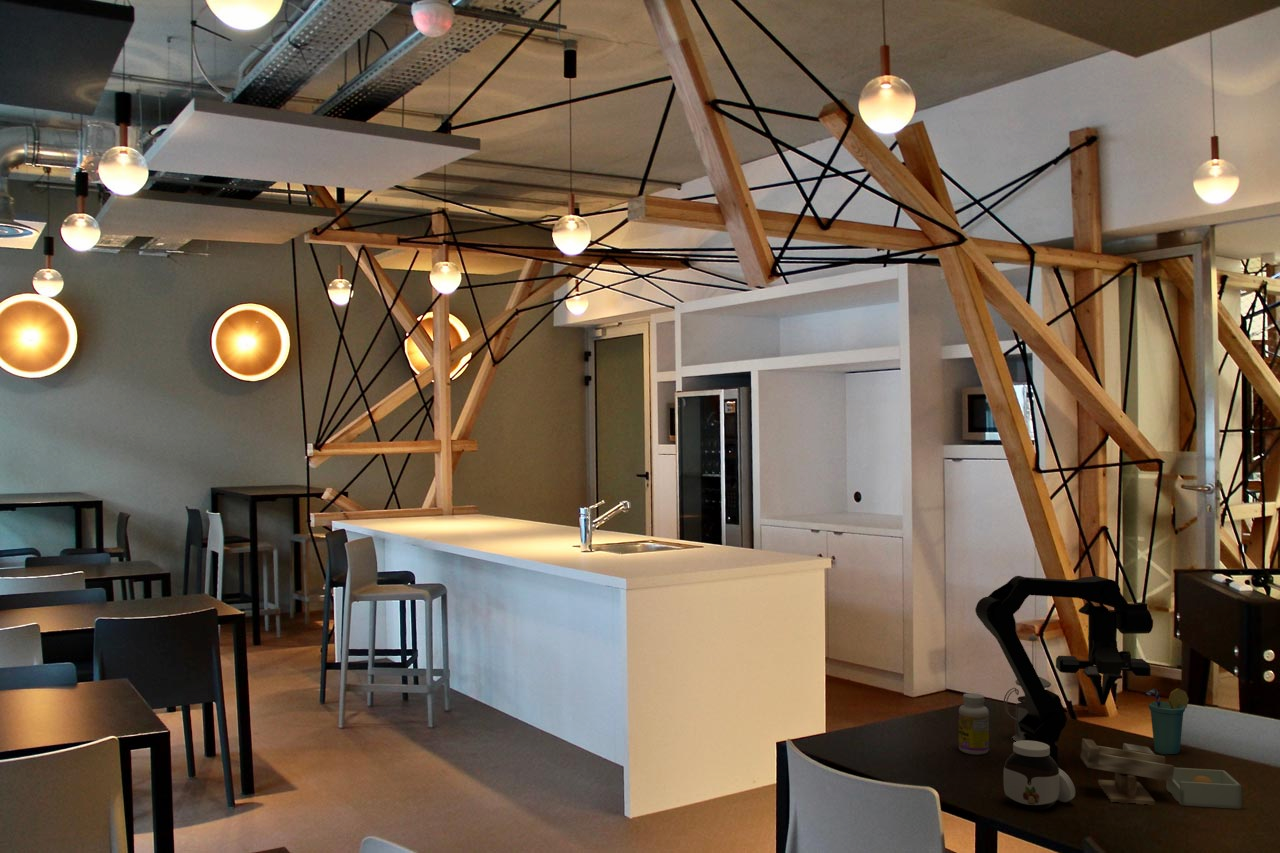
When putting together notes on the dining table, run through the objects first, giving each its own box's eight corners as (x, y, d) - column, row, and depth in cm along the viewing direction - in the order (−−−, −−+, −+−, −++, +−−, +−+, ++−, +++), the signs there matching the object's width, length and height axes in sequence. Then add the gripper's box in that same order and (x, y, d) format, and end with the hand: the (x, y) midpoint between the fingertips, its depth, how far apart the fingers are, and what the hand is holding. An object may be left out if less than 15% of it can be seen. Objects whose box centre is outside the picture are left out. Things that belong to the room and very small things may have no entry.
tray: (1180, 805, 214) (1180, 782, 214) (1166, 788, 223) (1166, 767, 224) (1241, 809, 212) (1241, 785, 212) (1224, 792, 221) (1224, 770, 221)
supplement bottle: (954, 747, 253) (954, 692, 253) (981, 746, 254) (981, 691, 254) (965, 755, 246) (965, 699, 247) (993, 755, 247) (993, 698, 247)
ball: (1217, 780, 215) (1216, 800, 215) (1211, 774, 219) (1209, 794, 219) (1195, 778, 216) (1194, 798, 216) (1189, 772, 220) (1188, 791, 220)
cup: (1162, 761, 243) (1162, 693, 243) (1130, 752, 249) (1130, 687, 249) (1198, 751, 250) (1198, 686, 250) (1167, 743, 257) (1166, 679, 257)
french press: (1061, 746, 254) (1061, 639, 254) (1011, 746, 254) (1011, 639, 254) (1046, 734, 264) (1046, 631, 264) (998, 734, 264) (998, 631, 264)
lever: (1087, 767, 218) (1089, 747, 218) (1070, 744, 235) (1072, 725, 235) (1172, 781, 215) (1174, 761, 215) (1149, 756, 232) (1151, 738, 232)
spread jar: (998, 803, 214) (998, 744, 215) (1020, 789, 223) (1020, 732, 223) (1060, 817, 207) (1060, 756, 207) (1080, 802, 215) (1080, 743, 215)
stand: (1111, 802, 215) (1111, 777, 215) (1098, 783, 227) (1098, 759, 227) (1154, 805, 214) (1154, 779, 214) (1139, 785, 225) (1139, 761, 225)
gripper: (1064, 639, 235) (1064, 711, 235) (1157, 642, 231) (1157, 715, 231) (1055, 630, 246) (1055, 699, 246) (1143, 633, 242) (1143, 703, 242)
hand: (1102, 704), depth 241 cm, fingers closed
